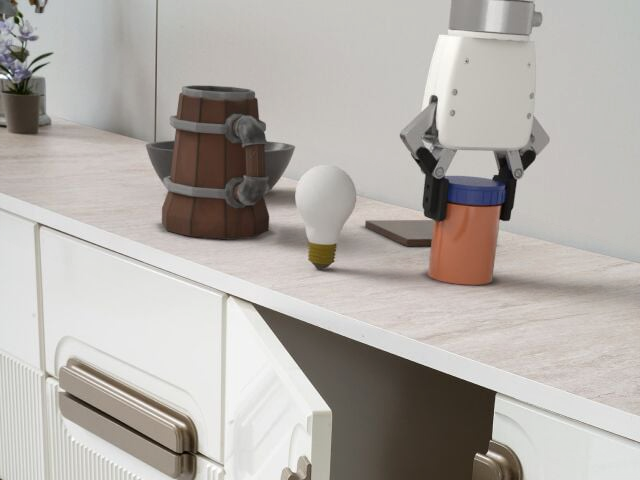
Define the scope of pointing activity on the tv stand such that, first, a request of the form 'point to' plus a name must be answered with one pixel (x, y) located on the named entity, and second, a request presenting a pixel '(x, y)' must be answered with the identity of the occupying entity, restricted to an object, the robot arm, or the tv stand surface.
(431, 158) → the robot arm
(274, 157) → the bowl
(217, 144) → the mug
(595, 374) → the tv stand surface
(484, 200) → the lid
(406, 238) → the plate
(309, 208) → the light bulb
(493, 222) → the jar
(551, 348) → the tv stand surface
